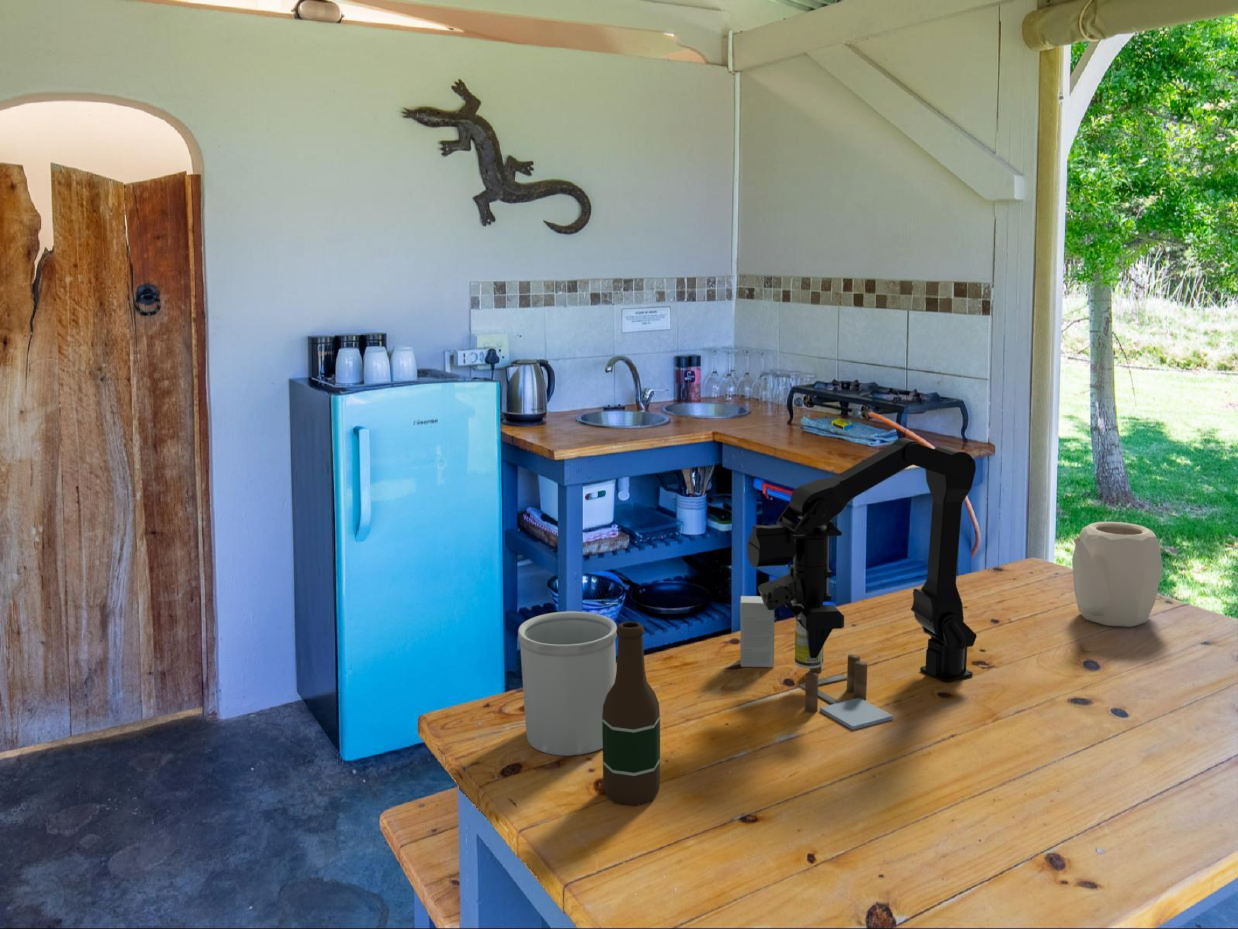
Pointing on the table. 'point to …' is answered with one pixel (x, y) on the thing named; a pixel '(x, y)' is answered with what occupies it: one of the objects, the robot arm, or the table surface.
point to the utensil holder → (566, 679)
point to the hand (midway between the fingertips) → (809, 652)
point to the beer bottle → (631, 726)
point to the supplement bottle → (805, 649)
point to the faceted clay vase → (1116, 573)
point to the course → (854, 681)
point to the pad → (856, 713)
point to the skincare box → (756, 633)
